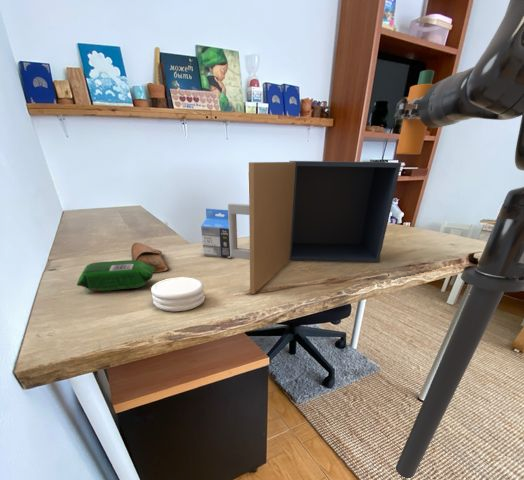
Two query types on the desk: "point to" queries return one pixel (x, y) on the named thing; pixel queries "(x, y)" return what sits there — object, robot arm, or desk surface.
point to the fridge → (341, 210)
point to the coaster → (178, 294)
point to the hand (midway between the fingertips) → (413, 113)
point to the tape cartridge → (216, 234)
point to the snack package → (115, 275)
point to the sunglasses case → (149, 256)
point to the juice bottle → (415, 128)
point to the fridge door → (265, 220)
